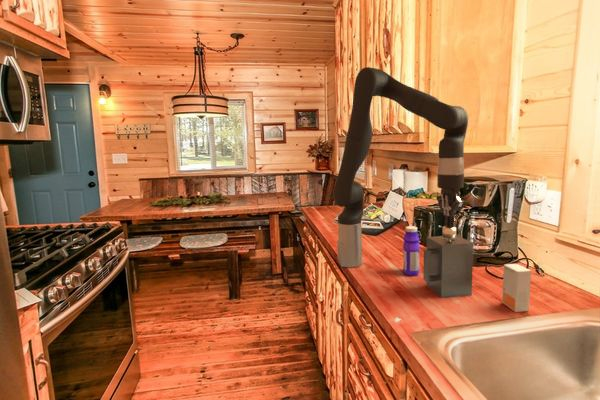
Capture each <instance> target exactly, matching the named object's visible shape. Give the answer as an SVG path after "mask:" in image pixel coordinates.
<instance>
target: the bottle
mask: <svg viewBox="0 0 600 400" xmlns="http://www.w3.org/2000/svg"><path fill="white" fill-rule="evenodd" d="M402 239H403V246H402V250H403V252H402V253H403V259H402V260H403V263H402V264H403V266H402V270H403V272H404V274H405V275H406V276H409V277H410V276H412V277H413V276H418V275H419V274H420V242H419V241H420V237H419V235H418V227H417V226H414V225H409V226H406V227H405V234H404V236H403V238H402Z"/></svg>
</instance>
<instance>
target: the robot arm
mask: <svg viewBox="0 0 600 400" xmlns="http://www.w3.org/2000/svg"><path fill="white" fill-rule="evenodd" d="M373 97H381V98H386V99H389V100H391V101H393V102H396V103H397V104H399V106H401V107H402V108H403V109H405V110H406V111H408V112H409V113H412V114H414V115H416V116H418V117H420V118H421V119H422V118H423V119H425V120H426V121H428V122H429V123H430V124H432V125H434V126H435V127H437V128H439V129H441V130H444V134H443V138H442V139H441V140H440V141H439V144H438V161H437V176H436V177H437V184H436V185H437V188H438V189H440V195H437V196H436V200H437V203H438V206H439V210H440V212H441V213H443V216H444V226H445V227H447V228H453V227H455V217H456V216H459V215H460V214H461V212H462V210H463V208H464V206H465V204H466V201H465V200H464V199H463V200H462V199H461V198H460V197H461V191H460V190H461V189H463V188H464V183H465V181H464V178H465V161H464V151H465V149H464V147H465V145H464V142H465V138H466V134H467V130H468V125H469V116H468V113H467V111H466V109H465V108H464V107H462V106H457V105H451V104H447V103H444V102H442V101H441V100H439V99H438V98H436V97H435V96H433V95H431V94H429V93H427V92H424V91H421V90H419V89H416V88H414V87H411V86H409V85H406V84H404V83H402V82H401V81H399V80H397V79H396V78H394V77H393V76H392V75H390V74H388V73H387V72H386V71H385V70H382V69H380V68H376V67H375V68H374V67H368V66H367V67H363V68H361V69H360V70H359V72H358V73H357V75H356V78H355V82H354V87H353V96H352V106H351V107H352V108H351V113H350V118H349V125H348V129H347V133H346V138H345V143H344V149H343V154H342V158H341V163H340V167H339V171H338V174H337V178H336V180H335V182H334V183H335V184H334V186H333V187H334V188H333V191H332V197H333V202H334V203H335V205H336V206H338V207H340V208H343V209H342V211H341V212H340V213H339V214H338V216H337V232H338V233H337V234H338V236H337V241H336V245H337V246H336V248H337V249H336V250H337V263H338V265H339V266H340V267H341V268H357V267H361V266H362V264H363V250H362V249H363V248H362V246H363V243H362V242H363V240H362V238H363V237H362V218H363V215H364V205H365V204H364V203H365V202H364V201H365V195H364V189H363V186H362V185H361V184H360V182H357V181H355V178H356V175H357V172H358V170H359V169H360V167H361V166H362V164H363V163H364V161H365V160H366V158H367V156H368V154H369V151H370V149H371V144H372V139H373V127H372V121H371V115H370V114H371V106H372V101H373Z"/></svg>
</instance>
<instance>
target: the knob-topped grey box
mask: <svg viewBox="0 0 600 400" xmlns="http://www.w3.org/2000/svg"><path fill="white" fill-rule="evenodd" d="M473 264H474V242H472V241H470V240H467V239H466V238H463V237H461V236H459V235H457V234H456V238H451V241H447V238H445V237H443V235H438V236H437V235H436V236H427V237H426V248H425V249H423V266H422V267H423V268H422V269H423V273H422V274H423V275H422V276H423V278H422V279H423V280H424V281H425V283H426V285H425V286H426V287H427V288H428V289H429V290H431V291H432V292H433V293H435V294H436V295H437V296H438V297H439V298H443V299H444V298H453V297H454V298H455V297H463V296H464V297H465V296H473V268H474V267H473V266H474V265H473Z"/></svg>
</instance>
